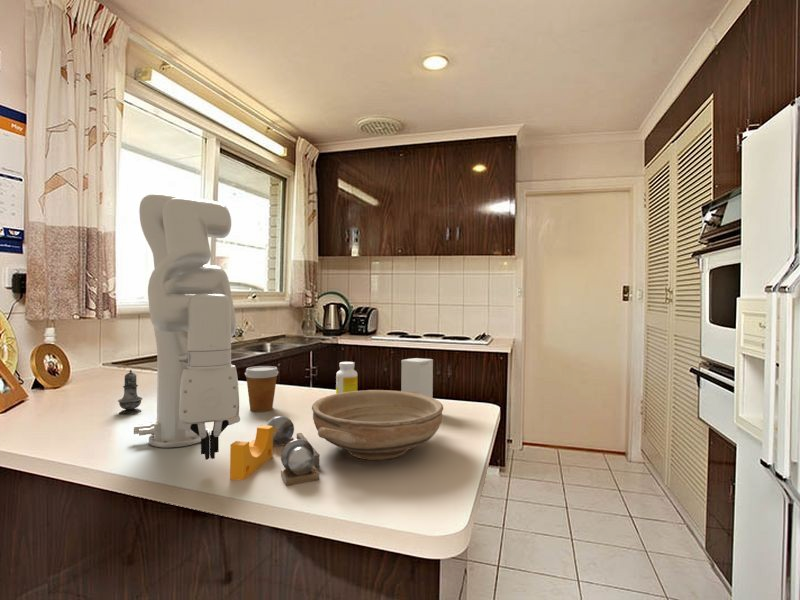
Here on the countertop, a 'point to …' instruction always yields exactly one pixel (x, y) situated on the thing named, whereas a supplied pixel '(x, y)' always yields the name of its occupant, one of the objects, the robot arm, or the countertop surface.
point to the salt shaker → (130, 396)
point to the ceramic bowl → (377, 421)
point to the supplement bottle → (346, 378)
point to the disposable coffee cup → (261, 387)
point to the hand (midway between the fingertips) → (209, 456)
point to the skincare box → (417, 376)
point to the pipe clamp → (251, 453)
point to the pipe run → (294, 453)
